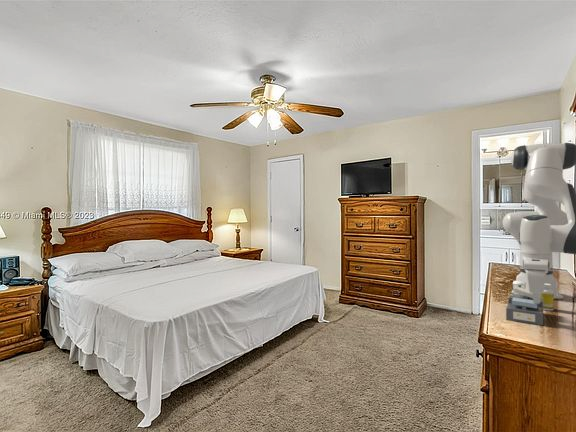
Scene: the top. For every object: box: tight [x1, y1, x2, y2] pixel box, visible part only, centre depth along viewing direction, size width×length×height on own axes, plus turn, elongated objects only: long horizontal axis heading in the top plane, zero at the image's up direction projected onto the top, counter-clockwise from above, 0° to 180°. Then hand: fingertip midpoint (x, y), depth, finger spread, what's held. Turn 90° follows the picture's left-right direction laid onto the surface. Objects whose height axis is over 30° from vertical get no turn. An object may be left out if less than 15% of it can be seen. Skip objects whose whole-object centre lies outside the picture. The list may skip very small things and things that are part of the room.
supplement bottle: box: [540, 283, 555, 311], centre depth 126 cm, size 5×5×10 cm
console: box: [505, 292, 544, 327], centre depth 116 cm, size 18×10×7 cm, turn 141°
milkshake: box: [512, 280, 527, 295], centre depth 135 cm, size 5×5×10 cm
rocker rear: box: [514, 286, 533, 298], centre depth 119 cm, size 6×7×1 cm
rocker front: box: [512, 298, 537, 308], centre depth 112 cm, size 6×7×1 cm
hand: (536, 302), depth 110 cm, fingers closed, pressing on rocker front
